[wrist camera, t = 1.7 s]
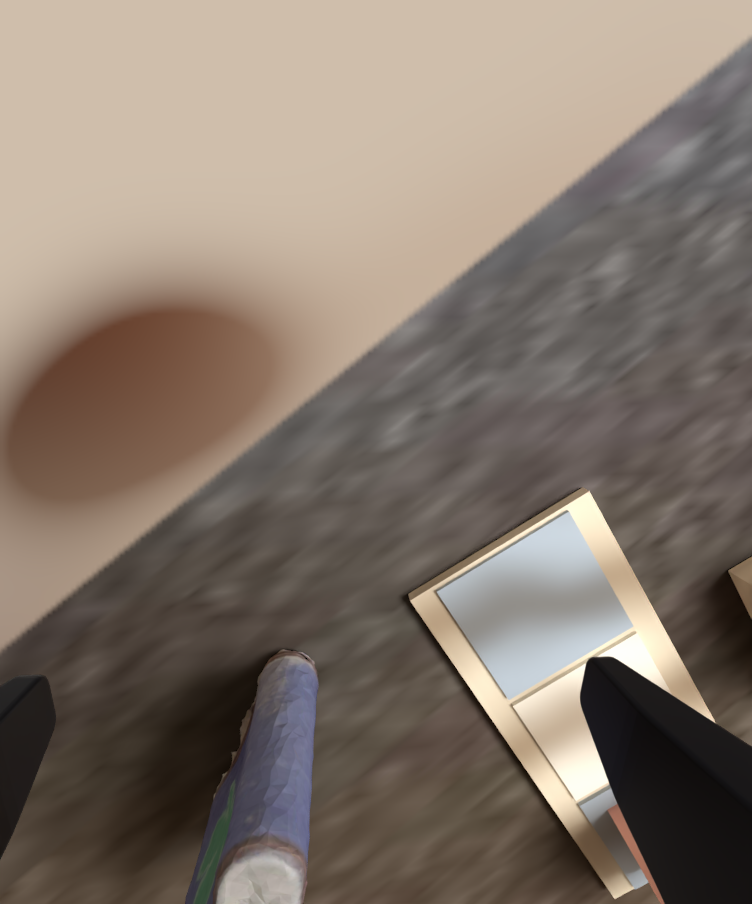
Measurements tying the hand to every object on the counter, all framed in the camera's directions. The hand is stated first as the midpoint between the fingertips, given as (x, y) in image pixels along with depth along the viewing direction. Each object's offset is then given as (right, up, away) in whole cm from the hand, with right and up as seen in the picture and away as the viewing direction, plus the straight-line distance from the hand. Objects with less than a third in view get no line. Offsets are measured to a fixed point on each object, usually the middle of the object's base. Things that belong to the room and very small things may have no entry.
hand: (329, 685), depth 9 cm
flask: (-4, -9, +16) cm, 19 cm away
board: (+12, -9, +17) cm, 22 cm away
